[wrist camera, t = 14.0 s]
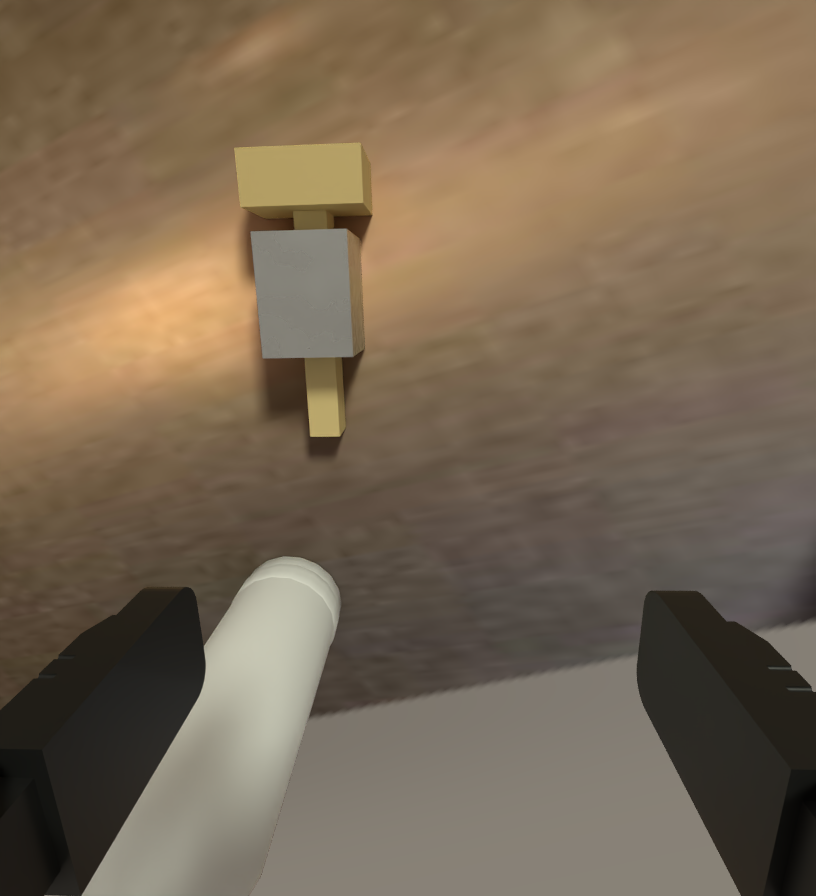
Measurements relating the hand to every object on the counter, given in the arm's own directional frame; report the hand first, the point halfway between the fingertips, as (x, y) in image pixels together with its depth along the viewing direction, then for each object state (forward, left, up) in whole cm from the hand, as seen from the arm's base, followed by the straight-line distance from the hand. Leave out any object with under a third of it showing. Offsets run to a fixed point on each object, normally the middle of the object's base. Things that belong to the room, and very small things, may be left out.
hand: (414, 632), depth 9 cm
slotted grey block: (+7, -6, -28) cm, 30 cm away
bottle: (+11, +17, -28) cm, 35 cm away
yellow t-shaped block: (+7, -6, -28) cm, 29 cm away
